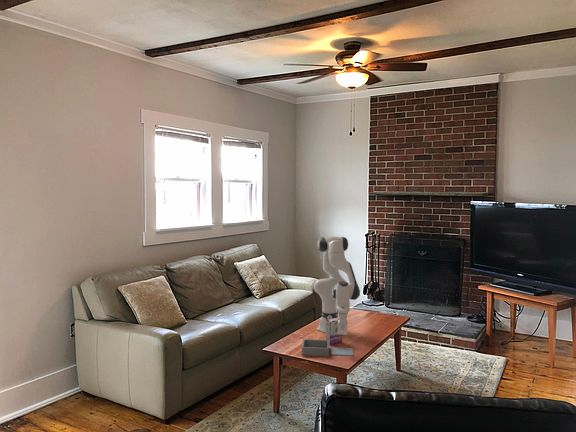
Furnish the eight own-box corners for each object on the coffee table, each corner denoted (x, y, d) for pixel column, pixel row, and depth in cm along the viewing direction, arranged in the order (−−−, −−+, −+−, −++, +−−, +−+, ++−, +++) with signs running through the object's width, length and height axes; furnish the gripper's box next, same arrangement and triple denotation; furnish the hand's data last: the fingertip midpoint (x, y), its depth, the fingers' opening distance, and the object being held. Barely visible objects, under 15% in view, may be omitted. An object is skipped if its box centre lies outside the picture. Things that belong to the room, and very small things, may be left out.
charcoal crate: (303, 346, 300) (303, 339, 300) (328, 347, 299) (328, 340, 299) (301, 355, 285) (301, 347, 284) (328, 356, 283) (328, 348, 283)
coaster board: (331, 348, 297) (331, 347, 297) (352, 349, 296) (352, 348, 296) (331, 355, 285) (331, 354, 285) (353, 356, 284) (353, 355, 284)
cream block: (337, 332, 292) (337, 320, 292) (346, 332, 292) (347, 320, 291) (337, 334, 288) (337, 322, 287) (347, 334, 287) (347, 322, 287)
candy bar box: (337, 340, 313) (337, 317, 312) (342, 342, 309) (342, 318, 308) (325, 343, 307) (325, 319, 306) (330, 345, 303) (330, 321, 302)
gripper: (337, 303, 299) (337, 323, 300) (338, 311, 279) (337, 333, 280) (347, 303, 299) (346, 324, 300) (348, 311, 279) (348, 333, 279)
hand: (342, 328), depth 290 cm, fingers closed on cream block, 4 cm apart
